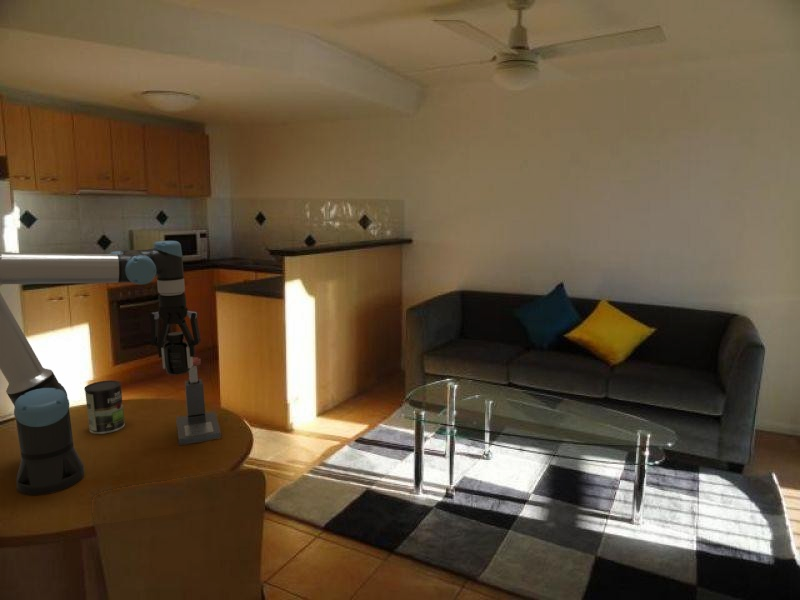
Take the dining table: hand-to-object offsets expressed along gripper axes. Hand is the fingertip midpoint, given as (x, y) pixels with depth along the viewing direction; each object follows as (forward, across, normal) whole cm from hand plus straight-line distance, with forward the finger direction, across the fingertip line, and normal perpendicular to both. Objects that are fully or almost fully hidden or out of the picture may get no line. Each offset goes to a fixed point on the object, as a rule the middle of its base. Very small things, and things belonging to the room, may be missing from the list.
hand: (178, 366), depth 176 cm
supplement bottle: (+2, 0, 0) cm, 2 cm away
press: (+21, -4, 0) cm, 22 cm away
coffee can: (+21, +25, -5) cm, 33 cm away
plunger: (+12, -2, -6) cm, 14 cm away
